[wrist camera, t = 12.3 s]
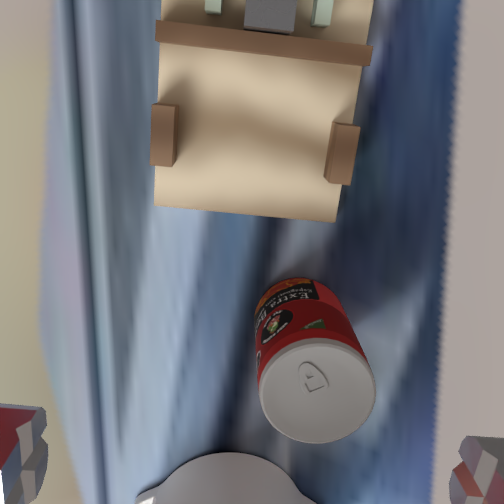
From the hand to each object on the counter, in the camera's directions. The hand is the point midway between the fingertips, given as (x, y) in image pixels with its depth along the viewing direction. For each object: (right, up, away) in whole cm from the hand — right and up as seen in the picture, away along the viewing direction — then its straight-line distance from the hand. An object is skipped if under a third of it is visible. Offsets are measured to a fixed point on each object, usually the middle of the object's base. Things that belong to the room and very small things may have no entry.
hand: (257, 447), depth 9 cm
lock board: (+1, +18, +24) cm, 30 cm away
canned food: (+4, -2, +32) cm, 32 cm away
